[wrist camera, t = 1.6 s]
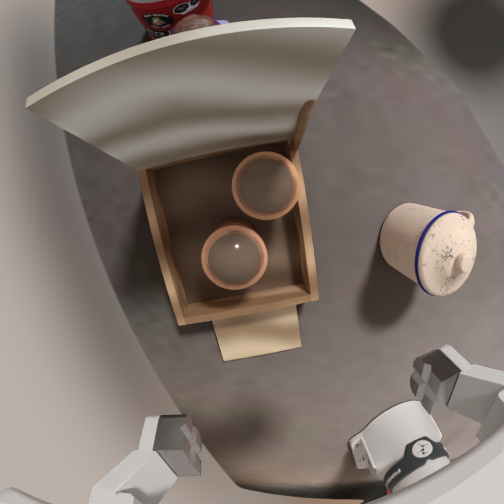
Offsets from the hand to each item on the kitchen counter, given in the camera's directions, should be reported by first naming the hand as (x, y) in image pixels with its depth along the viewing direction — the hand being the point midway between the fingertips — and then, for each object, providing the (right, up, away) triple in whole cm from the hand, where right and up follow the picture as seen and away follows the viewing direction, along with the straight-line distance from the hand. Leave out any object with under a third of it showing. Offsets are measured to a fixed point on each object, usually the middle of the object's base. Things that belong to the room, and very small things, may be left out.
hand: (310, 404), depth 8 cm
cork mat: (-1, -4, +25) cm, 26 cm away
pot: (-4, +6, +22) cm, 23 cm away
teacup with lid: (+19, +8, +24) cm, 31 cm away
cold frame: (-4, +9, +22) cm, 24 cm away
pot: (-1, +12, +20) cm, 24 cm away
